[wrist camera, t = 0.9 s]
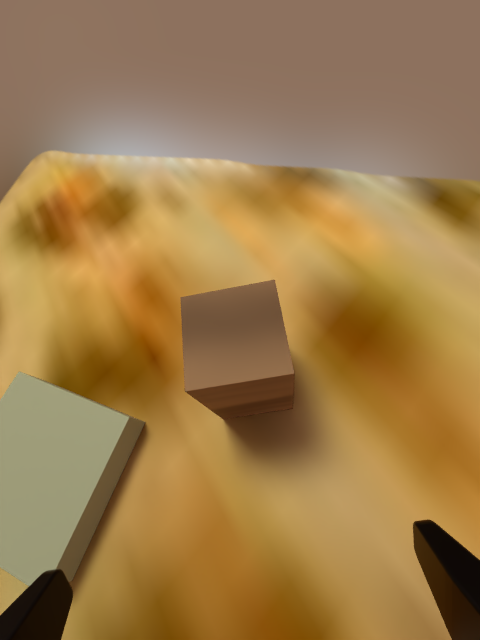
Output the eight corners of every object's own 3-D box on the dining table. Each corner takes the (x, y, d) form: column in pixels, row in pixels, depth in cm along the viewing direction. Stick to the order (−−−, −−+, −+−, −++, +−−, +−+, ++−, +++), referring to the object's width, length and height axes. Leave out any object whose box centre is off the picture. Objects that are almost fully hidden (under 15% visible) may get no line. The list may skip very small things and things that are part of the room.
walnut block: (293, 408, 22) (294, 373, 14) (223, 419, 22) (185, 391, 14) (280, 342, 24) (274, 279, 16) (216, 353, 24) (180, 297, 16)
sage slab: (76, 578, 20) (42, 595, 17) (-32, 511, 22) (-76, 516, 20) (147, 422, 23) (129, 417, 21) (46, 381, 26) (19, 371, 23)
